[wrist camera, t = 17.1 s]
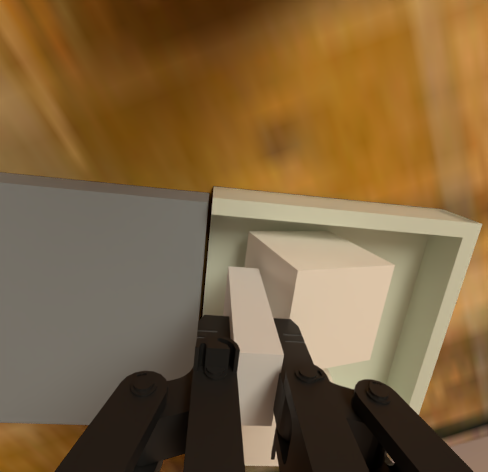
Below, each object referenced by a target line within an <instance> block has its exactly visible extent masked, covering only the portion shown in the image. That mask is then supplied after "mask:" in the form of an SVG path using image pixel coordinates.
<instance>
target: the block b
mask: <svg viewBox="0 0 488 472" xmlns="http://www.w3.org/2000/svg"><path fill="white" fill-rule="evenodd" d="M394 267H395V265H394V264H392V263H390V262H388V261H386V260H384V259H382V258H380V257H378V256H376V255H374V254H373V253H371V252H369V251H367V250H365V249H363V248H361V247H359V246H357V245H355V244H353V243H351V242H349V241H347V240H345V239H344V238H342V237H340V236H338V235H336V234H334V233H332V232H330V231H249V234H248V242H247V250H246V258H245V266H244V268H257V269H259V271H260V275H261V278H262V281H263V285H264V288H265V292H266V295H267V299H268V302H269V305H270V309H271V312H272V316H273V318H281V319H291V320H292V321H293V322H294V323H295V324H296V325H297V326H299V329H300V331H301V334H302V336H303V339H304V343H305V344H306V346H307V349H308V351H309V354H310V356H311V358H312V361H313V363H314V365H316V366H318V367H319V368H321V369H325V368H330V367H335V366H340V365H346V364H351V363H356V362H361V361H366V360H370V357H371V354H372V350H373V346H374V342H375V339H376V335H377V331H378V327H379V324H380V320H381V316H382V312H383V308H384V305H385V301H386V297H387V293H388V290H389V286H390V282H391V278H392V274H393V271H394Z"/></svg>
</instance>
